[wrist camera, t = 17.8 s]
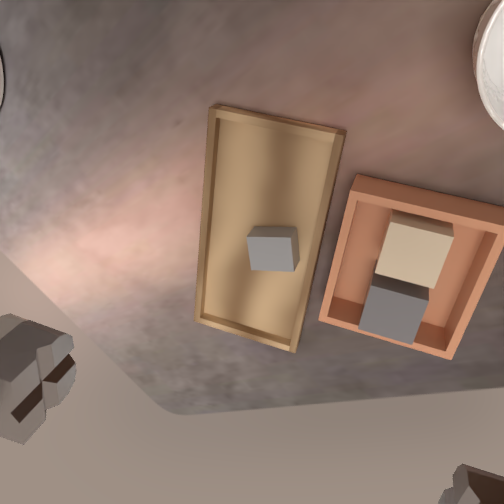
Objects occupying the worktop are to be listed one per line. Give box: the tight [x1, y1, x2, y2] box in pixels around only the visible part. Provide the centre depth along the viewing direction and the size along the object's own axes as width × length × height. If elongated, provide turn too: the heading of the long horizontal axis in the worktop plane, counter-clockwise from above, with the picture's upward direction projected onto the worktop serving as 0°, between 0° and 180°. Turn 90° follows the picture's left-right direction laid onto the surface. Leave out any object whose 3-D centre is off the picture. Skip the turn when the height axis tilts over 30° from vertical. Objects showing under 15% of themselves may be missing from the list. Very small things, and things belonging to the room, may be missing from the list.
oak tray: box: [194, 104, 347, 353], centre depth 38 cm, size 10×20×1 cm, turn 173°
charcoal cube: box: [358, 259, 429, 345], centre depth 35 cm, size 4×4×4 cm
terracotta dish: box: [318, 174, 504, 360], centre depth 34 cm, size 10×11×4 cm
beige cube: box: [375, 209, 454, 289], centre depth 32 cm, size 4×4×4 cm
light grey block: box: [246, 226, 300, 272], centre depth 37 cm, size 4×3×2 cm
